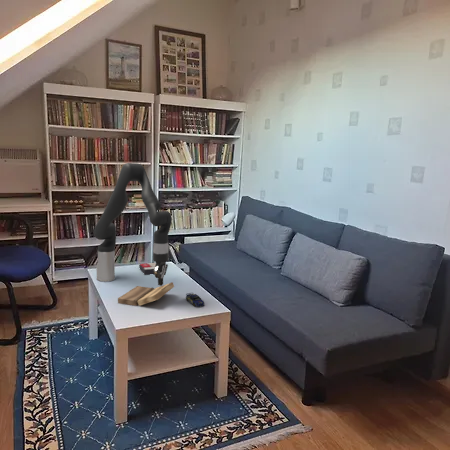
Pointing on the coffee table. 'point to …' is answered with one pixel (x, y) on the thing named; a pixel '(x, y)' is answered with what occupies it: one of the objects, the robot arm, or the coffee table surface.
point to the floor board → (134, 295)
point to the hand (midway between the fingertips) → (160, 285)
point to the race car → (194, 300)
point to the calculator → (147, 268)
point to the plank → (155, 294)
